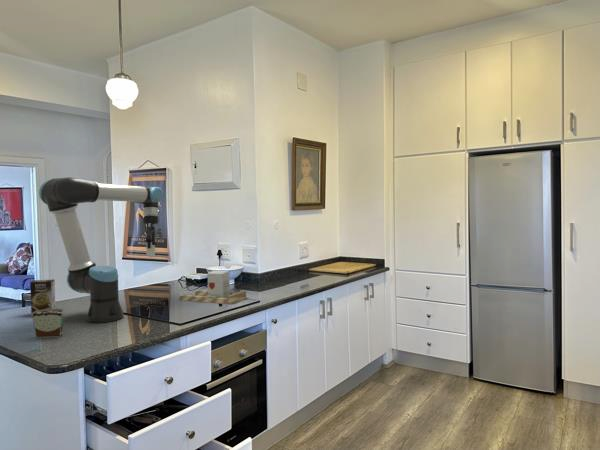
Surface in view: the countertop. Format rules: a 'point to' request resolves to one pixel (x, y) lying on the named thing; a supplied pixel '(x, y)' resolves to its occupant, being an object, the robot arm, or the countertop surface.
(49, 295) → the coffee box
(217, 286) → the supplement box
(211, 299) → the wooden cutting board
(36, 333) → the food container
